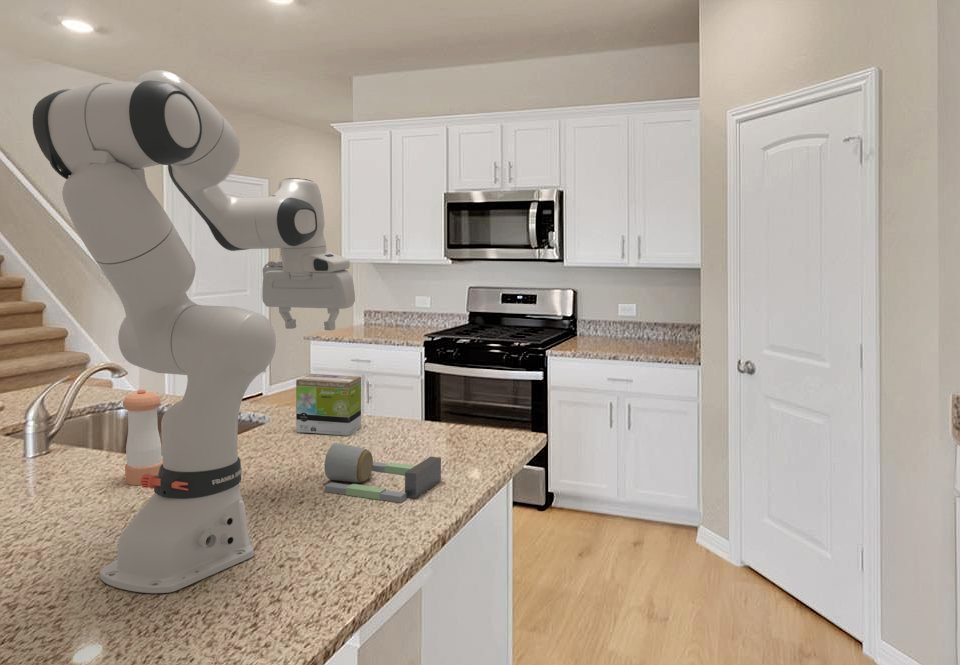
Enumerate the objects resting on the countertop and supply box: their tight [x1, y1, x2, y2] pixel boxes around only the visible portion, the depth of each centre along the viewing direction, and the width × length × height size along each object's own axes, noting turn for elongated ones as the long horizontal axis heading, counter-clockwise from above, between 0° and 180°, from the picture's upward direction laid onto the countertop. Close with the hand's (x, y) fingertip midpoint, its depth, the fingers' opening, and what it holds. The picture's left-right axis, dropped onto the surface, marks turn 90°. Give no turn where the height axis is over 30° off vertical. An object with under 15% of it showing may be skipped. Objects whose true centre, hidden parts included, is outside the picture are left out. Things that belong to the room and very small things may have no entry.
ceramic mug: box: [324, 442, 374, 484], centre depth 148 cm, size 11×8×8 cm
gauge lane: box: [323, 461, 416, 504], centre depth 145 cm, size 19×17×2 cm
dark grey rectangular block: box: [404, 456, 442, 499], centre depth 142 cm, size 12×2×5 cm, turn 159°
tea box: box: [295, 373, 362, 437], centre depth 188 cm, size 15×10×15 cm
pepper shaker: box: [122, 388, 163, 486], centre depth 145 cm, size 7×7×19 cm
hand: (310, 329), depth 143 cm, fingers open, 8 cm apart
